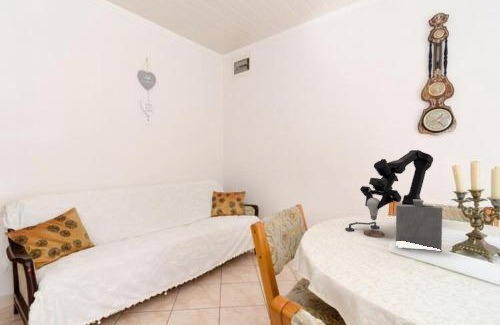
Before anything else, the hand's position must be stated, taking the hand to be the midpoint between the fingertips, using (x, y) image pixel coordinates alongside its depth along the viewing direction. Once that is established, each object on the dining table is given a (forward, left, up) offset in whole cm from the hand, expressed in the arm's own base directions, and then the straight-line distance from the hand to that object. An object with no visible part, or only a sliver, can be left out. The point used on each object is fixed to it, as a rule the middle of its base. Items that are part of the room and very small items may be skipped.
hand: (371, 207), depth 119 cm
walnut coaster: (-1, -1, -13) cm, 13 cm away
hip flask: (-19, +6, -13) cm, 24 cm away
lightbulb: (-1, -1, -7) cm, 7 cm away
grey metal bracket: (+6, -6, -13) cm, 16 cm away
